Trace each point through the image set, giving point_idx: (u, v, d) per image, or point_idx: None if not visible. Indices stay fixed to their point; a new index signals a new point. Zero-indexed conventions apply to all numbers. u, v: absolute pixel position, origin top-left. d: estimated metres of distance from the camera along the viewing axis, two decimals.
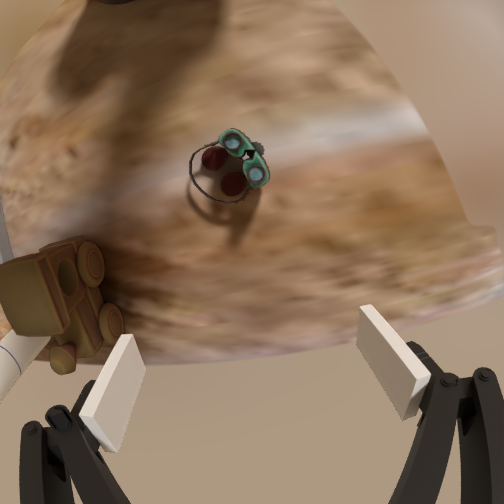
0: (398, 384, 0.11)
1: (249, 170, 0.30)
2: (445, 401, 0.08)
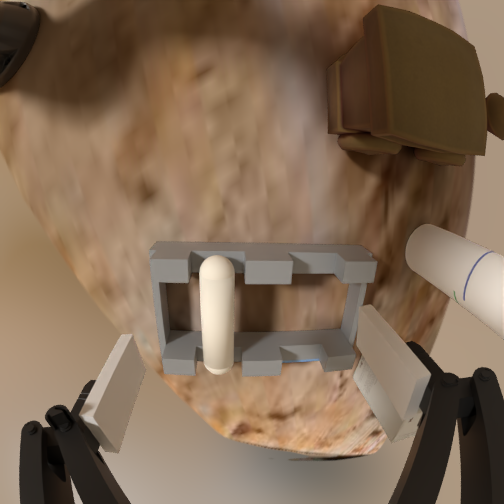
0: (398, 384, 0.11)
1: None
2: (445, 401, 0.08)
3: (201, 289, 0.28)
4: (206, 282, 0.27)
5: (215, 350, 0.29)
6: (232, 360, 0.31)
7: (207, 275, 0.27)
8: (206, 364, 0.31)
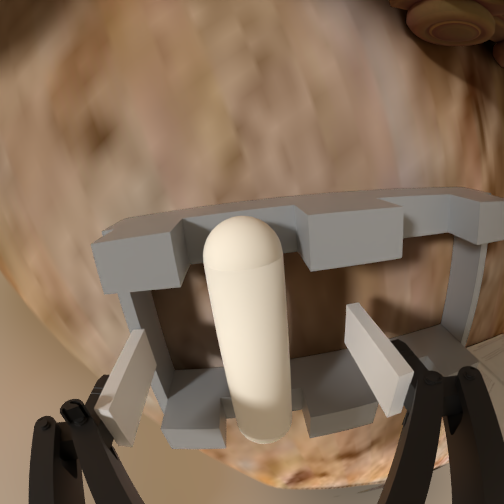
0: (382, 381, 0.11)
1: None
2: (429, 399, 0.08)
3: (212, 297, 0.12)
4: (221, 280, 0.11)
5: (259, 412, 0.14)
6: (290, 418, 0.15)
7: (221, 262, 0.11)
8: (243, 432, 0.15)
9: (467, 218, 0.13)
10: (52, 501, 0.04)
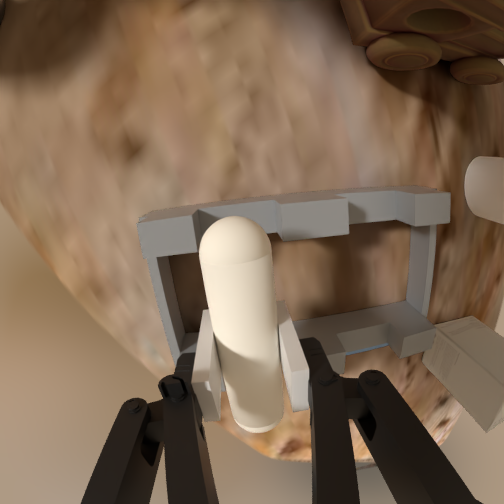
0: (287, 376, 0.13)
1: None
2: (328, 399, 0.09)
3: (207, 290, 0.14)
4: (214, 273, 0.13)
5: (251, 400, 0.15)
6: (282, 408, 0.16)
7: (214, 257, 0.13)
8: (237, 420, 0.16)
9: (407, 207, 0.19)
10: (116, 490, 0.06)
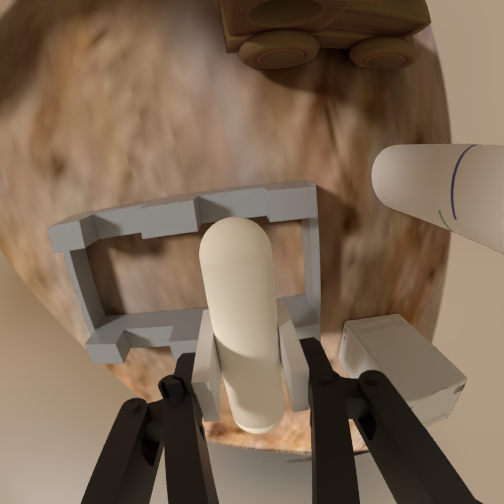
0: (287, 376, 0.13)
1: None
2: (328, 399, 0.09)
3: (207, 291, 0.14)
4: (214, 274, 0.13)
5: (251, 401, 0.15)
6: (282, 409, 0.16)
7: (214, 258, 0.12)
8: (237, 421, 0.16)
9: (266, 203, 0.22)
10: (116, 490, 0.06)
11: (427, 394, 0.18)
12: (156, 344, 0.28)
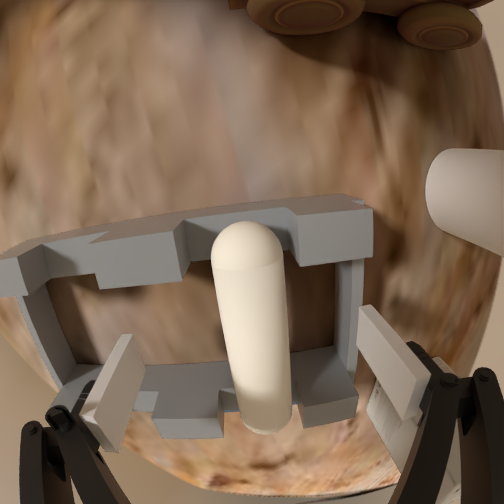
0: (398, 384, 0.11)
1: None
2: (445, 401, 0.08)
3: (222, 296, 0.13)
4: (233, 279, 0.13)
5: (266, 402, 0.15)
6: (291, 406, 0.17)
7: (233, 263, 0.12)
8: (249, 425, 0.16)
9: (293, 234, 0.14)
10: None
11: None
12: (139, 409, 0.19)
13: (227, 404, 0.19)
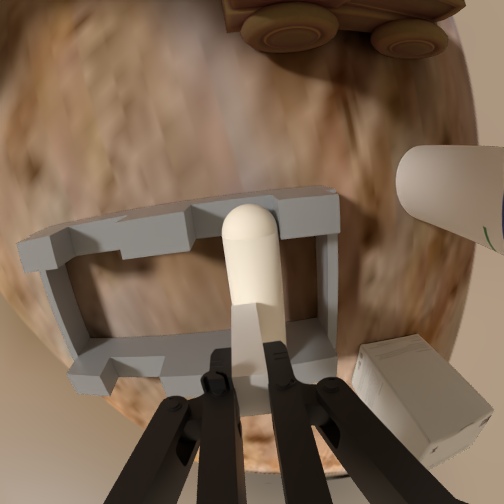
0: None
1: None
2: (288, 404, 0.09)
3: (238, 263, 0.17)
4: (249, 246, 0.17)
5: None
6: None
7: (249, 233, 0.16)
8: None
9: (276, 215, 0.18)
10: (145, 491, 0.06)
11: (453, 432, 0.14)
12: (146, 374, 0.23)
13: None
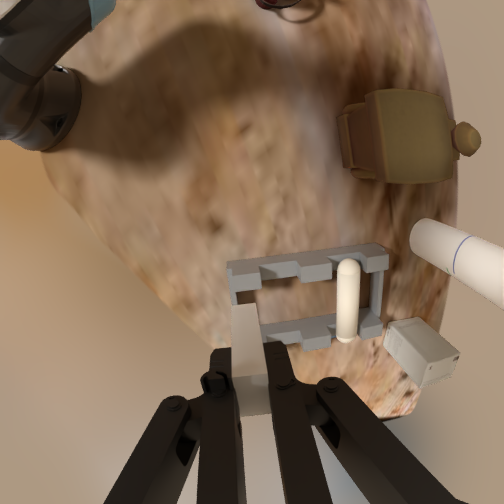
0: None
1: None
2: (288, 404, 0.09)
3: (341, 283, 0.40)
4: (347, 277, 0.39)
5: (350, 324, 0.41)
6: (356, 330, 0.43)
7: (347, 272, 0.39)
8: (341, 337, 0.43)
9: (364, 262, 0.40)
10: (145, 491, 0.06)
11: (439, 359, 0.36)
12: (285, 342, 0.46)
13: None
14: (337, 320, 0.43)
